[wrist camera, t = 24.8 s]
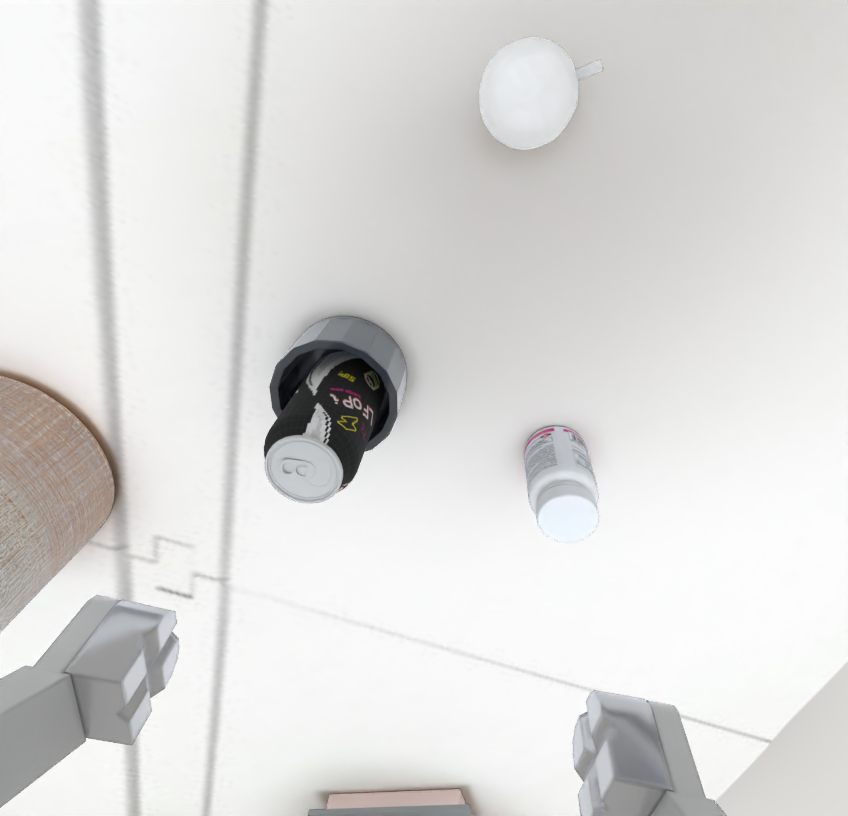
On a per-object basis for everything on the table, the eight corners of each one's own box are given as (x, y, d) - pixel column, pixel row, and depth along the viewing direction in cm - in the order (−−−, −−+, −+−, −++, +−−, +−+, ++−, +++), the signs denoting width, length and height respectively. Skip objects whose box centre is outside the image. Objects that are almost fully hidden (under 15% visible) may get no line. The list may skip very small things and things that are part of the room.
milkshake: (581, 118, 33) (614, 121, 25) (494, 152, 35) (495, 167, 26) (562, 32, 31) (590, 3, 23) (471, 72, 33) (464, 58, 24)
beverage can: (316, 339, 41) (255, 418, 31) (392, 356, 41) (359, 441, 31) (308, 406, 44) (251, 500, 33) (380, 422, 44) (345, 522, 33)
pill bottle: (523, 475, 45) (529, 546, 38) (524, 424, 43) (531, 489, 36) (583, 476, 45) (601, 549, 38) (588, 424, 43) (608, 490, 35)
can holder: (286, 313, 41) (262, 337, 37) (406, 317, 40) (396, 343, 36) (298, 418, 45) (278, 452, 41) (407, 424, 44) (398, 459, 40)
